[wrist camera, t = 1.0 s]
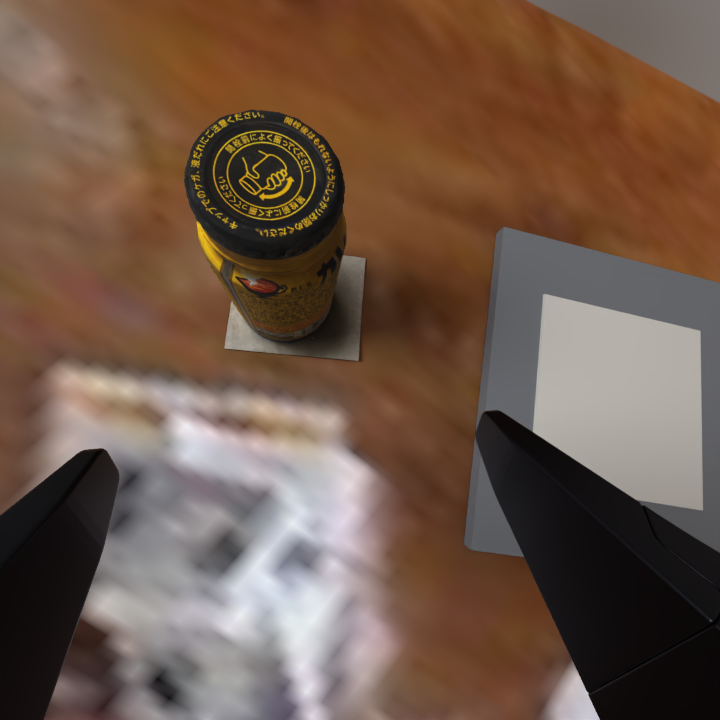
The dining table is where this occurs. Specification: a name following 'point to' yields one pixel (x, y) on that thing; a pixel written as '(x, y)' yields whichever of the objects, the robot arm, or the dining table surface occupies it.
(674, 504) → the grey square board
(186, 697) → the dining table surface
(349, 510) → the dining table surface
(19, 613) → the robot arm
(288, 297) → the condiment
